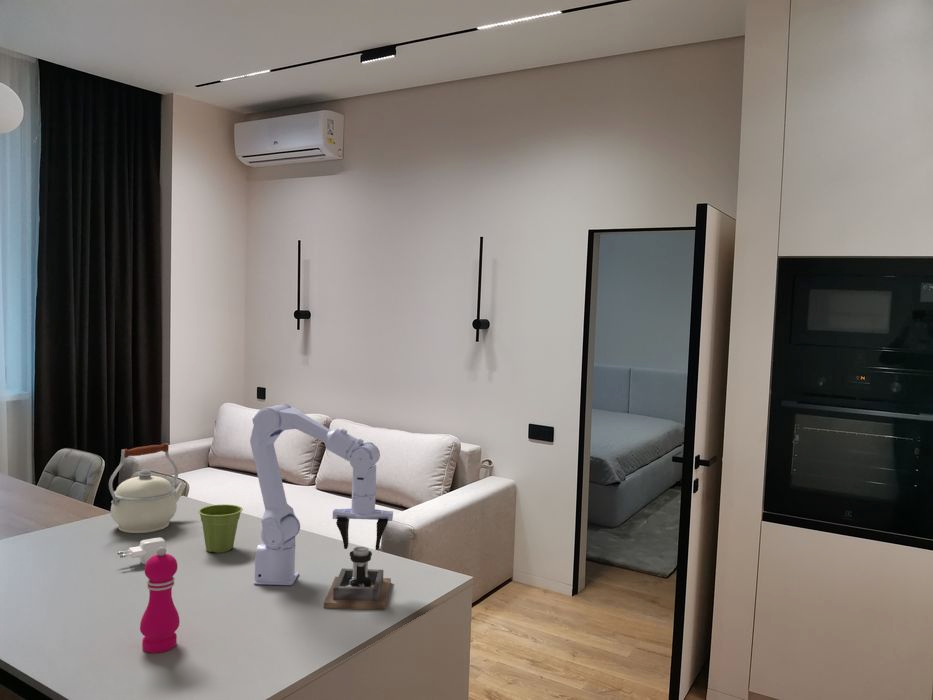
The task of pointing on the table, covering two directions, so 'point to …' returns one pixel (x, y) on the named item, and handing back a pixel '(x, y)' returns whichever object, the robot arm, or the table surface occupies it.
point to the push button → (360, 567)
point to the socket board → (358, 592)
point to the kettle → (144, 496)
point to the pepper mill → (160, 604)
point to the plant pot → (220, 526)
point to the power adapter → (145, 549)
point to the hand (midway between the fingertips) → (361, 548)
